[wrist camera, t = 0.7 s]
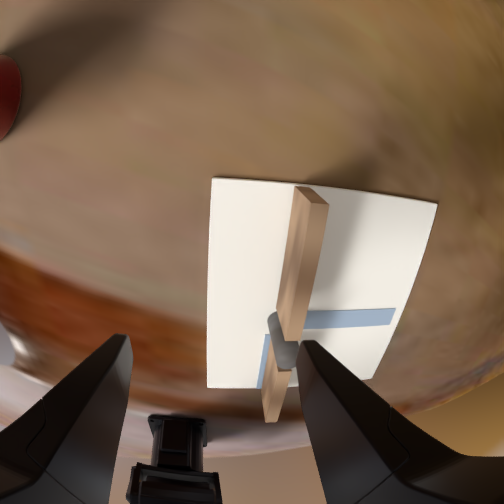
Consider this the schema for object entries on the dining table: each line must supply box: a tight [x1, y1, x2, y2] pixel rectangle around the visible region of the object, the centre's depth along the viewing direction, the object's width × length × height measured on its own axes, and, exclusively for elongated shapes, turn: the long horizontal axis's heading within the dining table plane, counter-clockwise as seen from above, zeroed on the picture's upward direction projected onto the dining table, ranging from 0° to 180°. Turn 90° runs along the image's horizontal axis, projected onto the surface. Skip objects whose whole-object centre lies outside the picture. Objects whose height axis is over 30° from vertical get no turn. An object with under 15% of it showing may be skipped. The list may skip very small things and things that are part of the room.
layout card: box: [207, 177, 438, 389], centre depth 23 cm, size 19×17×1 cm
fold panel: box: [276, 186, 329, 341], centre depth 18 cm, size 9×1×4 cm, turn 175°
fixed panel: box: [261, 311, 299, 423], centre depth 23 cm, size 9×2×5 cm, turn 175°
